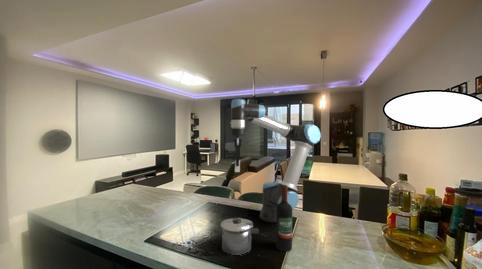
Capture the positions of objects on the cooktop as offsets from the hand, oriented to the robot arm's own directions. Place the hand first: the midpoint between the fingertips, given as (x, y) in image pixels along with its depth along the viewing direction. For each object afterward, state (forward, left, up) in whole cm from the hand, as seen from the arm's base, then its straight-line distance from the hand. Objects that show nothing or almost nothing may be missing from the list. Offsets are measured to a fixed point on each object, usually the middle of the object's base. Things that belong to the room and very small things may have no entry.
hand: (237, 171), depth 113 cm
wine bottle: (+12, +23, -35) cm, 43 cm away
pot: (+12, 0, -34) cm, 36 cm away
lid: (+12, 0, -24) cm, 27 cm away
